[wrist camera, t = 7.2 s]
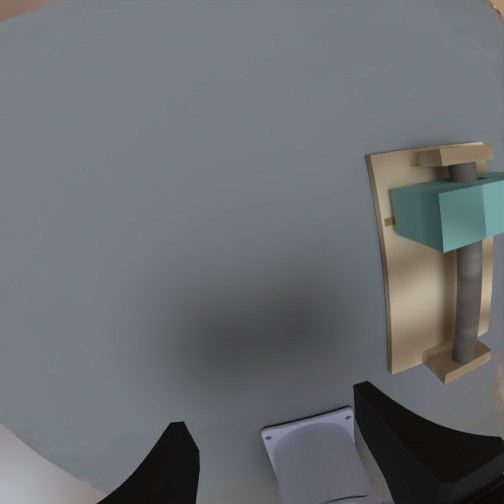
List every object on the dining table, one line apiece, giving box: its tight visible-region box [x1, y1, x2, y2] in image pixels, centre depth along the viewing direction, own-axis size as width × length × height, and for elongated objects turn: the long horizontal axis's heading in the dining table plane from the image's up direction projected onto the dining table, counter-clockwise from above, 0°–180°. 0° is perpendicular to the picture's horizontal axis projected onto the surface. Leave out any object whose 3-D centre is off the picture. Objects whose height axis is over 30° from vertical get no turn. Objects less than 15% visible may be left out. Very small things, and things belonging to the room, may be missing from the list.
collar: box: [390, 172, 504, 253], centre depth 16 cm, size 3×10×5 cm, turn 103°
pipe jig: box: [365, 142, 494, 384], centre depth 18 cm, size 17×11×5 cm, turn 13°
